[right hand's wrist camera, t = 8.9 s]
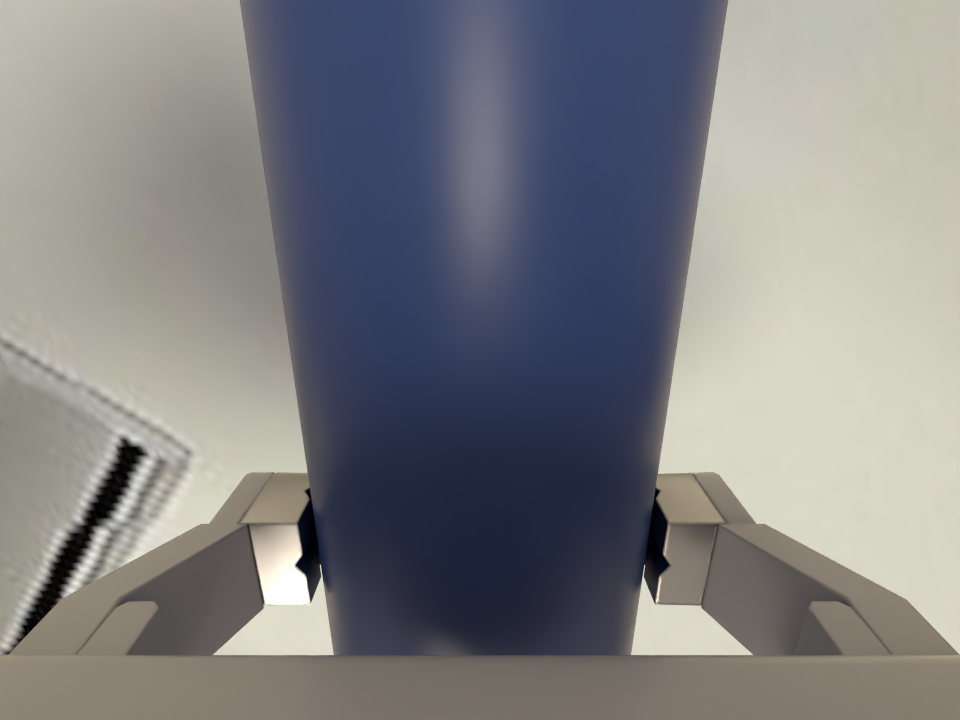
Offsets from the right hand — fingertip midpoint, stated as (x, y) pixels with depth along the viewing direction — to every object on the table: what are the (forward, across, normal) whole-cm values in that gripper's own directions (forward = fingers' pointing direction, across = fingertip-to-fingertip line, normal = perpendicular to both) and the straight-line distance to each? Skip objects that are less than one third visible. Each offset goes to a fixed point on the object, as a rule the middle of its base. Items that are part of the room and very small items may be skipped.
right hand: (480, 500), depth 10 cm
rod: (+3, 0, -9) cm, 9 cm away
